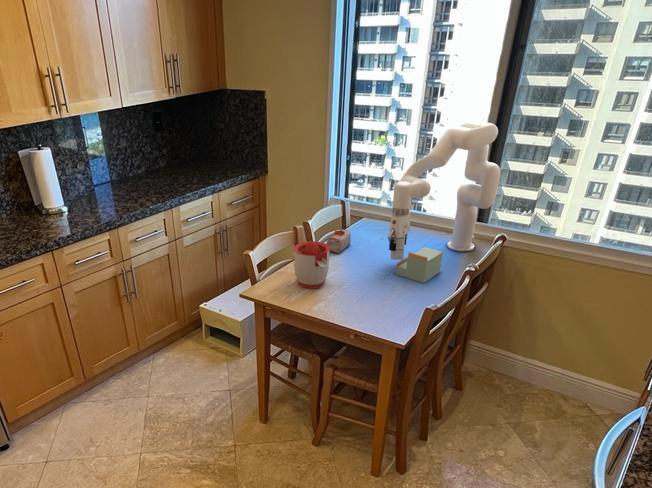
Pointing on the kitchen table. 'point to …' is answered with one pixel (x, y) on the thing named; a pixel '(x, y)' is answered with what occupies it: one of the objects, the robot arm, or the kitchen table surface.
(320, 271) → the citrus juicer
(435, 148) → the robot arm
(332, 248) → the food item
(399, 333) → the kitchen table surface
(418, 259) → the stepped box
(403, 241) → the syrup box
